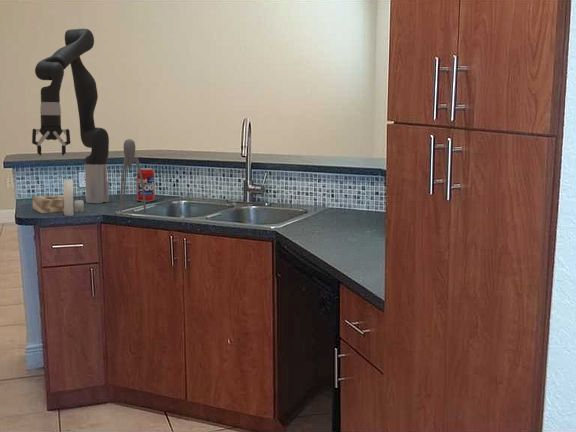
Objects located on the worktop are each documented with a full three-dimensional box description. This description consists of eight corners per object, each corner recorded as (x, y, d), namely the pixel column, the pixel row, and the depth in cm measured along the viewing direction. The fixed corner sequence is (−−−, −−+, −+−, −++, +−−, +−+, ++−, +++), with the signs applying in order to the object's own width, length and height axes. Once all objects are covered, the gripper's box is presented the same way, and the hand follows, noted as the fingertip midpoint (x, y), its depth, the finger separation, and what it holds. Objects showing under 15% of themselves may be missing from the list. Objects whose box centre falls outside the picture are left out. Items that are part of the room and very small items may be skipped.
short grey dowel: (81, 210, 297) (81, 200, 296) (85, 212, 294) (84, 201, 293) (73, 211, 295) (73, 200, 294) (76, 212, 292) (76, 201, 291)
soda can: (147, 199, 333) (147, 167, 331) (157, 201, 328) (157, 168, 325) (133, 200, 328) (133, 168, 325) (143, 203, 322) (143, 169, 320)
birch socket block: (61, 207, 304) (61, 195, 304) (71, 211, 295) (70, 199, 294) (32, 208, 297) (32, 197, 297) (41, 213, 288) (41, 200, 287)
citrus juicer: (146, 211, 300) (145, 139, 295) (131, 214, 291) (130, 140, 286) (124, 208, 304) (123, 138, 299) (108, 212, 295) (108, 139, 290)
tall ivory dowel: (71, 214, 288) (71, 179, 285) (74, 215, 285) (74, 180, 283) (62, 214, 286) (62, 179, 283) (65, 216, 283) (65, 180, 280)
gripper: (68, 114, 287) (69, 154, 289) (30, 113, 281) (32, 154, 284) (70, 114, 280) (71, 156, 282) (31, 113, 274) (33, 156, 277)
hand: (51, 155), depth 283 cm, fingers open, 8 cm apart
